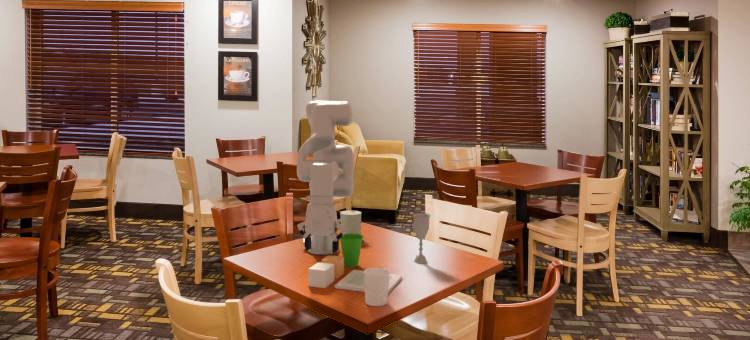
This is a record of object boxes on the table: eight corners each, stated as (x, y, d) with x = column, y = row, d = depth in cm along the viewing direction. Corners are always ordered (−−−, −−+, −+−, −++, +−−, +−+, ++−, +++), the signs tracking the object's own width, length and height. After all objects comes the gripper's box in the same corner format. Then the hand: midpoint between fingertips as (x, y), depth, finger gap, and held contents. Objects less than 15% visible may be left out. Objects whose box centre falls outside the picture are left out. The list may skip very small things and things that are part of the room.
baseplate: (334, 288, 201) (334, 284, 201) (353, 272, 218) (353, 269, 218) (386, 294, 196) (387, 291, 196) (402, 278, 213) (402, 274, 213)
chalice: (428, 264, 229) (429, 217, 226) (410, 263, 230) (411, 216, 228) (430, 259, 236) (431, 213, 234) (412, 258, 237) (414, 212, 235)
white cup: (373, 296, 194) (373, 265, 193) (393, 301, 190) (394, 270, 188) (358, 303, 188) (358, 272, 186) (379, 309, 183) (380, 276, 182)
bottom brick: (308, 286, 203) (308, 268, 202) (318, 279, 211) (318, 262, 210) (325, 288, 201) (325, 270, 201) (334, 281, 209) (334, 264, 208)
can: (363, 236, 270) (363, 210, 268) (358, 241, 261) (358, 214, 259) (343, 235, 272) (343, 208, 270) (337, 240, 263) (337, 212, 261)
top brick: (321, 276, 214) (321, 259, 213) (328, 271, 219) (328, 255, 218) (337, 278, 212) (337, 261, 211) (343, 273, 217) (343, 257, 217)
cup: (366, 263, 230) (366, 234, 228) (358, 269, 221) (358, 240, 220) (344, 260, 233) (344, 232, 231) (335, 267, 224) (335, 237, 223)
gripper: (292, 200, 201) (293, 251, 203) (342, 203, 196) (341, 256, 198) (302, 196, 208) (302, 246, 210) (350, 200, 203) (349, 250, 205)
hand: (321, 250), depth 204 cm, fingers open, 9 cm apart
